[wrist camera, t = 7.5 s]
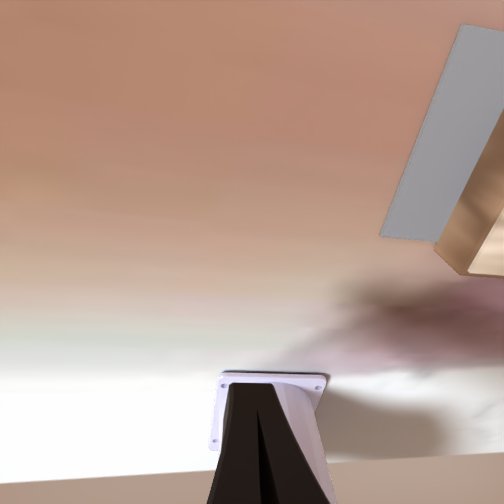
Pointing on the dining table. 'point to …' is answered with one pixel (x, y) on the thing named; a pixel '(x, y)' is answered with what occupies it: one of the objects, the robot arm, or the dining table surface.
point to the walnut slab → (479, 216)
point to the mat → (450, 136)
